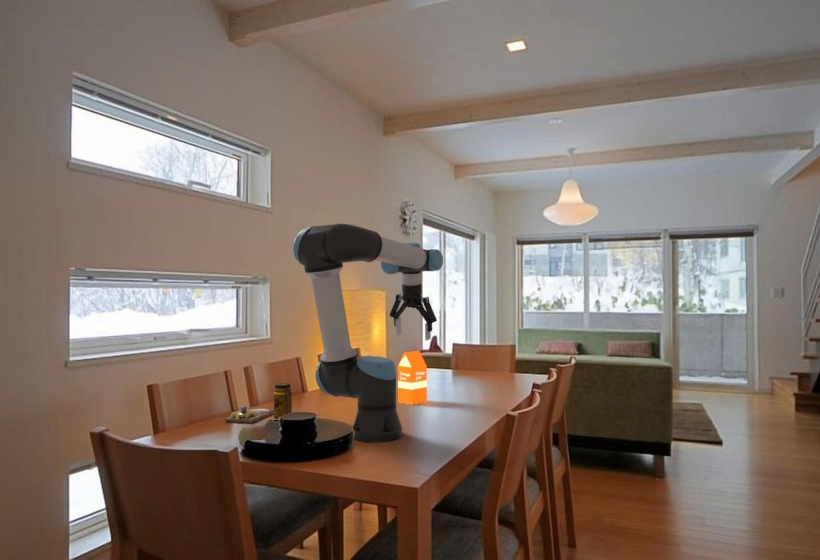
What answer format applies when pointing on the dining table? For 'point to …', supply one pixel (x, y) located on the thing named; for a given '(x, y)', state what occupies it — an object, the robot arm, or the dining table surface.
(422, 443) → the dining table surface
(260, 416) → the gear board
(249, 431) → the fruit
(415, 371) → the orange juice
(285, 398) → the condiment
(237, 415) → the gear
